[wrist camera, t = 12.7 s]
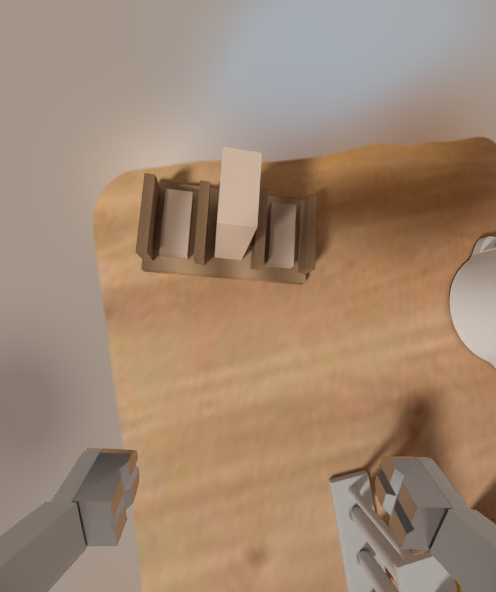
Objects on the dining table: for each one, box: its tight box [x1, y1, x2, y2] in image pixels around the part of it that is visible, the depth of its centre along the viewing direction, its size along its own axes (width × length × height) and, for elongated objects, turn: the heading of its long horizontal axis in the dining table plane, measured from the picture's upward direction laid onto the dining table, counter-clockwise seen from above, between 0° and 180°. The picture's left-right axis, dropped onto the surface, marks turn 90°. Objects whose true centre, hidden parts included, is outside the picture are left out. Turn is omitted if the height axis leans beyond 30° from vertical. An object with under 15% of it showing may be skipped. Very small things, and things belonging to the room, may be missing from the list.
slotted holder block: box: [136, 173, 317, 285], centre depth 29 cm, size 18×10×4 cm, turn 86°
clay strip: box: [215, 147, 262, 260], centre depth 25 cm, size 3×6×10 cm, turn 176°
